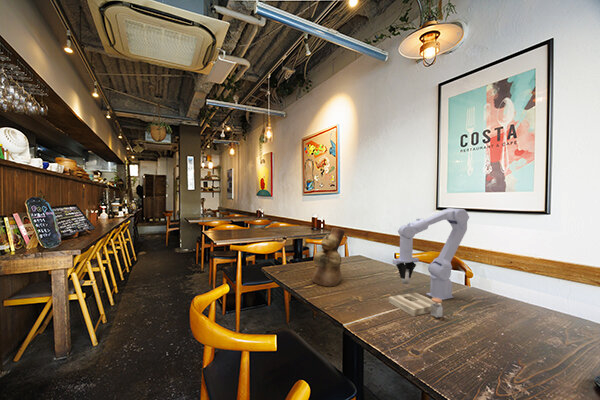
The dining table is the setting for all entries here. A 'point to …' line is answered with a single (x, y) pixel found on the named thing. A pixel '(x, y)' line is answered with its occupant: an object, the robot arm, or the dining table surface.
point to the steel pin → (406, 277)
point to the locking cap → (436, 301)
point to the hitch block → (412, 303)
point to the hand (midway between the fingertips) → (405, 277)
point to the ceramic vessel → (329, 259)
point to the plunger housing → (436, 310)
